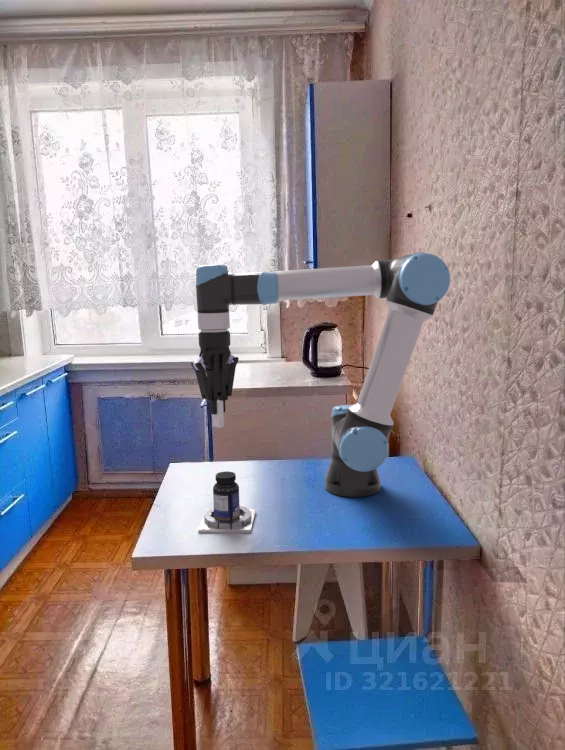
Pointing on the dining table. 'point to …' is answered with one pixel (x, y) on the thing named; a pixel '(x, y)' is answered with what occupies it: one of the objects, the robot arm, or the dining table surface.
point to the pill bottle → (226, 497)
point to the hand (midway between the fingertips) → (218, 426)
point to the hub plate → (228, 522)
